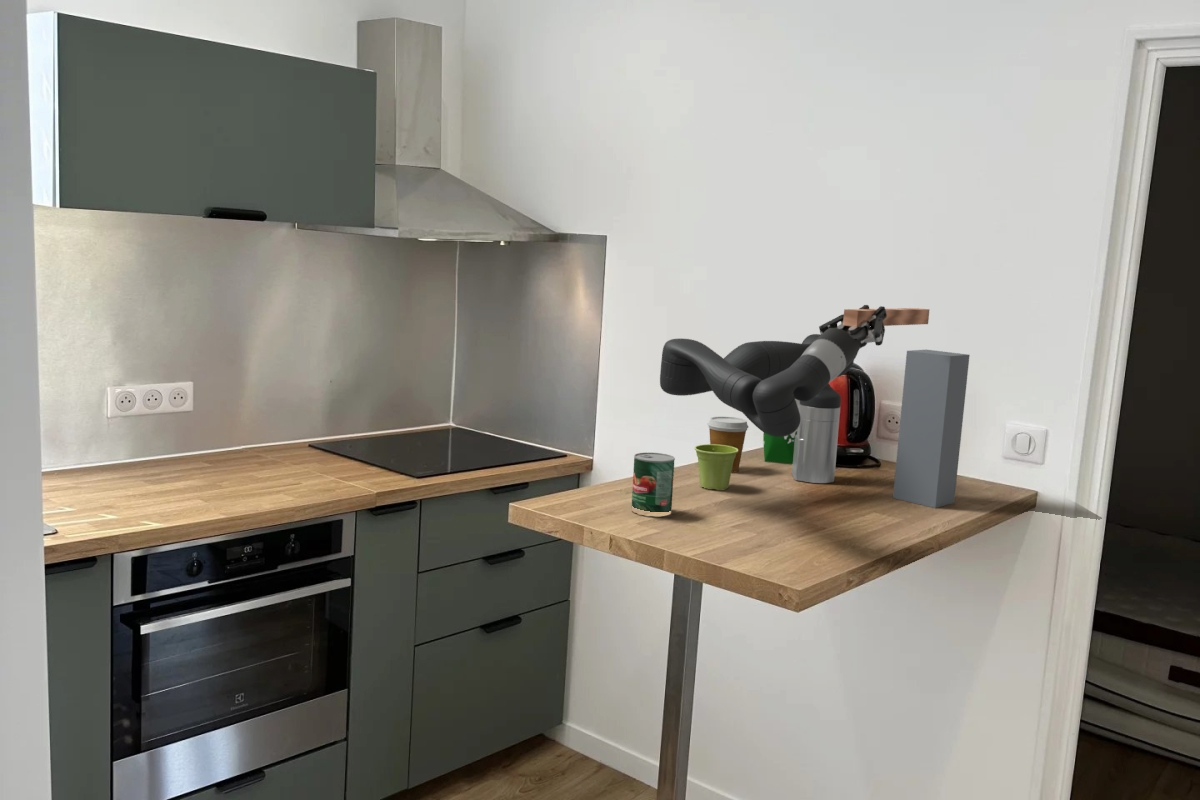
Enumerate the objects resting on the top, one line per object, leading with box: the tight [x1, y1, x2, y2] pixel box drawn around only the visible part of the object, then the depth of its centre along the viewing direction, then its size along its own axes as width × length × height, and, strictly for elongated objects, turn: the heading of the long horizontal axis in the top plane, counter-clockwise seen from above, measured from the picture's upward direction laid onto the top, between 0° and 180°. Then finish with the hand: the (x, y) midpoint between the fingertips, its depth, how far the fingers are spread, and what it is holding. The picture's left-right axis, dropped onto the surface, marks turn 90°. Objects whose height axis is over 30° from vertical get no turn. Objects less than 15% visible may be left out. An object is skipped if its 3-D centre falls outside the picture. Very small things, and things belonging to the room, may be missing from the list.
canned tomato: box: [631, 452, 676, 512], centre depth 201 cm, size 8×8×11 cm
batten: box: [843, 307, 930, 327], centre depth 203 cm, size 26×3×3 cm, turn 133°
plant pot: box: [694, 443, 738, 491], centre depth 224 cm, size 9×9×9 cm
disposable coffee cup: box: [707, 416, 749, 474], centre depth 243 cm, size 10×10×12 cm
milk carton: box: [762, 399, 800, 465], centre depth 257 cm, size 9×9×20 cm
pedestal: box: [892, 349, 971, 509], centre depth 220 cm, size 8×10×32 cm
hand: (875, 309), depth 199 cm, fingers closed on batten, 3 cm apart
